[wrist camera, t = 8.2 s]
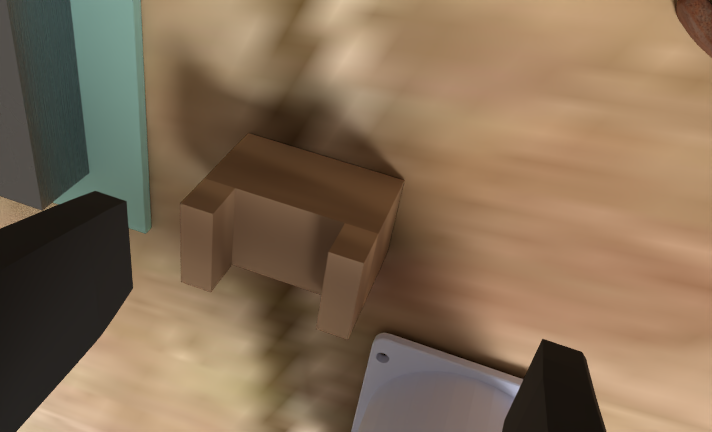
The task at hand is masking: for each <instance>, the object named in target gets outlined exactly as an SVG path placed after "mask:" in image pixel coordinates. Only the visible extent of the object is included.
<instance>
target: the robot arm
mask: <svg viewBox="0 0 712 432" xmlns="http://www.w3.org/2000/svg"><path fill="white" fill-rule="evenodd" d="M132 289H133V281H132V268H131V254H130V241H129V227H128V214H127V201H125V200H122V199H119V198H116V197H113V196H110V195H107V194H104V193H101V192H98V191H93V192H90V193H88V194H85V195H82V196H79V197H77V198H74V199H72V200H69V201H67V202H64V203H62V204H59V205H57V206H54V207H52V208H49V209H47V210H45V211H42V212H40V213H37V214H35V215H33V216H30V217H28V218H25V219H23V220H20V221H18V222H16V223H13V224H11V225H8V226H6V227H3V228H1V229H0V432H16V431H17V430H18V429H19V428H20V427H21V426H22V425H23V423H24V422H25V421H26V420H27V419H28V418H29V417H30V416H31V414H32V413H33V412H34V411H35V410H36V409H37V408H38V407H39V405H40V404H41V403H42V402H43V401H44V400H45V399H46V398H47V397H48V395H49V394H50V393H51V392H52V391H53V390H54V389H55V388H56V386H57V385H58V384H59V383H60V382H61V381H62V380H63V379H64V377H65V376H66V375H67V374H68V373H69V372H70V371H71V370H72V368H73V367H74V366H75V365H76V364H77V363H78V362H79V360H80V359H81V358H82V357H83V356H84V355H85V354H86V352H87V351H88V350H89V349H90V348H91V347H92V346H93V344H94V343H95V342H96V341H97V340H98V339H99V337H100V336H101V335H102V334H103V332H104V331H105V329H106V328H107V326H108V325H109V324H110V322H111V321H112V319H113V318H114V316H115V315H116V313H117V312H118V310H119V309H120V307H121V306H122V304H123V303H124V301H125V300H126V298H127V296H128V295H129V293H130V292H131V290H132ZM381 353H384V354H386V355H387V356H385V355H383V354H381ZM351 432H606V429H605V425H604V422H603V419H602V416H601V412H600V409H599V406H598V402H597V399H596V395H595V392H594V388H593V384H592V380H591V377H590V373H589V369H588V365H587V360H586V358H585V356H584V355H583V353H582V352H581V351H577V350H574V349H571V348H568V347H565V346H562V345H559V344H556V343H553V342H550V341H547V340H544V339H542V341H541V343H540V345H539V347H538V350H537V352H536V354H535V356H534V358H533V360H532V362H531V364H530V367H529V369H528V371H527V373H526V375H525V377H524V379H521V378H518V377H515V376H512V375H509V374H506V373H503V372H500V371H497V370H494V369H492V368H489V367H486V366H483V365H480V364H477V363H474V362H471V361H468V360H465V359H462V358H459V357H457V356H454V355H451V354H448V353H445V352H442V351H439V350H436V349H433V348H430V347H427V346H424V345H421V344H419V343H416V342H413V341H410V340H407V339H404V338H401V337H398V336H395V335H392V334H389V333H379V334H378V335H376V337H375V339H374V341H373V344H372V348H371V352H370V356H369V360H368V364H367V368H366V372H365V376H364V380H363V384H362V389H361V393H360V397H359V401H358V405H357V409H356V413H355V417H354V421H353V425H352V430H351Z"/></svg>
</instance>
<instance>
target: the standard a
mask: <svg viewBox="0 0 712 432" xmlns="http://www.w3.org/2000/svg"><path fill="white" fill-rule="evenodd" d="M403 185H404V180H401V179H398V178H395V177H391V176H388V175H385V174H382V173H378V172H375V171H372V170H368V169H365V168H362V167H358V166H355V165H352V164H349V163H345V162H342V161H339V160H335V159H332V158H329V157H325V156H322V155H319V154H316V153H312V152H309V151H306V150H302V149H299V148H296V147H293V146H289V145H286V144H283V143H279V142H276V141H273V140H269V139H266V138H263V137H260V136H256V135H253V134H250V133H248V134H247V135H246V136H245V137H244V138H243V139H242V140H241V141H240V142H239V143H238V144H237V145H236V146H235V147H234V148H233V149H232V150H231V151H230V152H229V153H228V154H227V155H226V157H225V158H224V159H223V160H222V161H221V162H220V163H219V164H218V165H217V166H216V167H215V168H214V169H213V170H212V171H211V172H210V173H209V174H208V175H207V176H206V177H205V178H204V179H203V180H202V181H201V182H200V183H199V184H198V185H197V186H196V187H195V189H194V190H193V191H192V192H191V193H190V194H189V195H188V196H187V197H186V198H185V199H184V200H183V201H182V202H181V203H180V233H181V282H183V283H185V284H188V285H191V286H194V287H197V288H200V289H203V290H206V291H208V292H212V290H213V289H214V288H215V286H216V285H217V284H218V282H219V281H220V280H221V278H222V277H223V276H224V274H225V273H226V272H227V270H228V269H229V268H230V266H231V265H234V266H237V267H240V268H243V269H246V270H249V271H252V272H255V273H258V274H261V275H264V276H267V277H270V278H273V279H276V280H279V281H282V282H285V283H288V284H290V285H293V286H296V287H299V288H302V289H305V290H308V291H311V292H314V293H317V294H320V295H321V301H320V307H319V313H318V319H317V325H316V329H318V330H321V331H323V332H326V333H329V334H332V335H335V336H338V337H341V338H344V339H346V340H348V339H349V336H350V334H351V332H352V330H353V328H354V325H355V323H356V321H357V319H358V316H359V314H360V312H361V310H362V308H363V305H364V303H365V301H366V299H367V297H368V294H369V292H370V290H371V288H372V285H373V283H374V281H375V279H376V277H377V274H378V272H379V270H380V268H381V266H382V263H383V261H384V259H385V257H386V255H387V252H388V248H389V244H390V240H391V236H392V231H393V227H394V223H395V219H396V214H397V210H398V206H399V202H400V197H401V193H402V189H403Z"/></svg>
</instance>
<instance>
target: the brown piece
mask: <svg viewBox="0 0 712 432" xmlns="http://www.w3.org/2000/svg"><path fill="white" fill-rule="evenodd" d="M676 6H677V7H676V13H677V17H678V19H679V21H680V22H681V24H682V25H683V26H684V28H685V29H686V31H687V32H688V34H689V35H690V36H691V38H692V39H693V40H694V41H695V42H696V44H697V45H698V46H699V47H701V48H702V49H703V50H704V51H705V52H706V53H707V54H708V55H709V56H710V57H711V58H712V4H711V3H710V1H709V0H678V1H677V4H676Z"/></svg>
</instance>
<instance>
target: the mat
mask: <svg viewBox="0 0 712 432" xmlns="http://www.w3.org/2000/svg"><path fill="white" fill-rule="evenodd" d="M70 3H71V12H72V21H73V30H74V39H75V48H76V57H77V66H78V75H79V83H80V92H81V101H82V110H83V119H84V128H85V137H86V146H87V155H88V164H89V174H88V175H86V176H85V177H84V178H82V179H81V180H80V181H79V182H77V183H76V184H75V185H74V186H72V187H71V188H70V189H69V190H67V191H66V192H65V193H64V194H62V195H61V196H60V197H59V198H57V199H56V200H55V201H54V202H53V203H56V204H62V203H64V202H67V201H69V200H72V199H74V198H77V197H79V196H82V195H85V194H88V193H90V192H93V191H98V192H101V193H104V194H107V195H110V196H113V197H116V198H119V199H122V200H125V201H127V214H128V227H129V228H130V229H133V230H136V231H139V232H142V233H145V234H146V233H147V232H148V231H149V230H150V229H151V211H150V190H149V169H148V148H147V127H146V105H145V84H144V63H143V42H142V21H141V0H70Z"/></svg>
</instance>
